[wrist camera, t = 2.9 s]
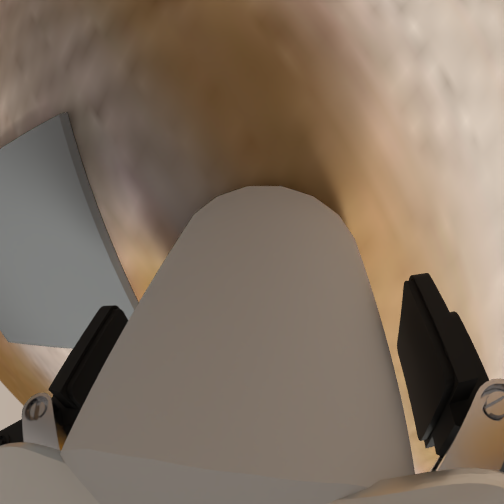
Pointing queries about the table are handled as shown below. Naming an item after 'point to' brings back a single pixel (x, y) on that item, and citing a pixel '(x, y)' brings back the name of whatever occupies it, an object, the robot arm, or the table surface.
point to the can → (247, 368)
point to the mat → (53, 242)
